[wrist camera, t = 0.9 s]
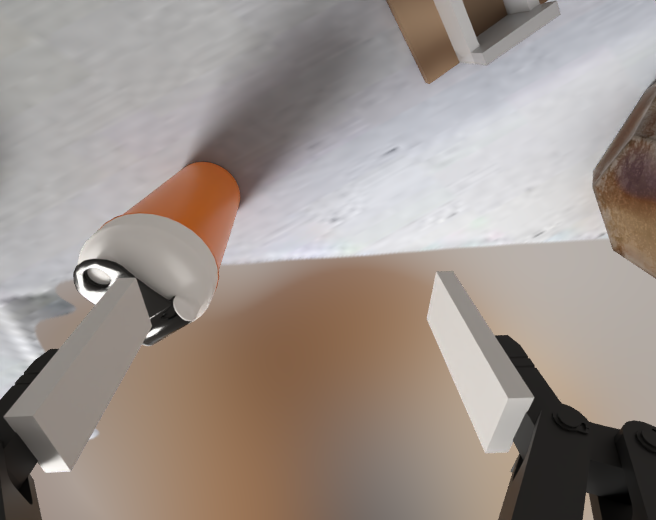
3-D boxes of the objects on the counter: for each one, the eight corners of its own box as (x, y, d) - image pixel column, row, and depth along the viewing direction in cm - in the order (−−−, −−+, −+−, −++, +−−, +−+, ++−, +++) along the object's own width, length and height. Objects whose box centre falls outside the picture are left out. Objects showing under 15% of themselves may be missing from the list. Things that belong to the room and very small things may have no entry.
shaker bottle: (200, 133, 36) (102, 213, 19) (265, 194, 39) (233, 308, 22) (149, 190, 39) (23, 305, 22) (214, 243, 42) (151, 375, 25)
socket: (431, -5, 30) (455, -15, 25) (496, -55, 28) (536, -77, 23) (459, 62, 32) (486, 65, 28) (520, 19, 31) (560, 14, 26)
